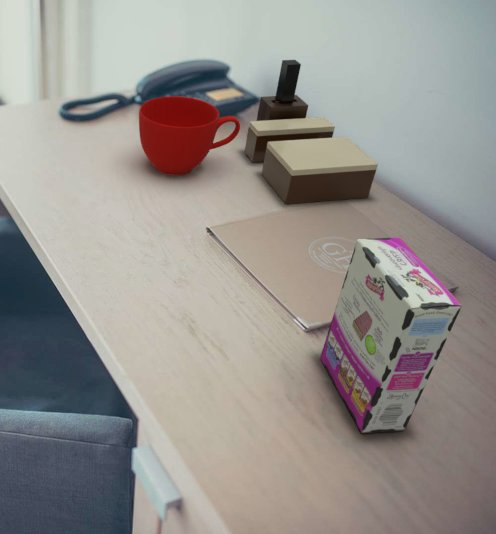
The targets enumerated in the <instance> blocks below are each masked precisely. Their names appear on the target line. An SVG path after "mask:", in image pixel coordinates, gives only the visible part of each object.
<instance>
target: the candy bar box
mask: <svg viewBox="0 0 496 534" xmlns="http://www.w3.org/2000/svg"><path fill="white" fill-rule="evenodd" d="M462 307H463V304H462V303H461V302H460V301H459V300H458V299H457V298H456V296H454V295H453V293H452V292H451V291H450V290H449V289H448V288H447V286H445V284H444V283H442V281H441V280H440V279H439V278H438V276H436V275H435V274H434V273H433V271H432V270H431V269H430V268H429V267H428V266H427V265H426V264H425V263H424V261H423V260H422V259H421V258H420V257H419V256H418V255H417V253H415V252H414V250H413V249H412V248H411V247H410V246H409V245H408V244H407V242H406V241H405V240H404V239H403V238H402V237H400V236H399V237H397V236H396V237H394V236H393V237H380V238H379V237H378V238H357V239H356V242H355V245H354V249H353V252H352V254H351V258H350V261H349V264H348V268H347V270H346V274H345V277H344V280H343V284H342V287H341V289H340V293H339V296H338V299H337V303H336V306H335V309H334V312H333V315H332V319H331V322H330V324H329V328H328V332H327V334H326V338H325V341H324V344H323V347H322V350H321V353H320V357H319V358H320V361H321V362H322V365H323V366H324V367H325V370H326V372H327V374H328V375H329V377H330V378H331V380H332V382H333V384H334V385H335V387H336V389H337V391H338V393H339V394H340V397H341V398H342V400H343V402H344V404H345V405H346V407H347V409H348V411H349V413H350V414H351V416H352V418H353V420H354V421H355V423H356V425H357V427H358V429H359V431H360V432H361V433H362V434H368V433H369V434H371V433H382V432H383V433H386V432H399V431H405V430H406V428H407V426H408V425H409V422H410V420H411V417H412V415H413V413H414V411H415V409H416V408H417V407H416V406H417V405H418V402H419V401H420V398H421V395H422V394H423V391H424V389H425V388H426V385H427V383H428V381H429V378H430V376H431V374H432V371H433V369H434V367H435V365H436V363H437V362H438V360H439V357H440V354H441V353H442V351H443V348H444V346H445V344H446V342H447V340H448V337H449V335H450V333H451V331H452V329H453V327H454V324H455V322H456V320H457V318H458V315H459V313H460V312H461V309H462Z"/></svg>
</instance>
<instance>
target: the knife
mask: <svg viewBox="0 0 496 534" xmlns="http://www.w3.org/2000/svg"><path fill="white" fill-rule="evenodd" d="M301 66H302V63H300V62H299V61H298V60H296V59H283V60H281V65H280V71H279V76H278V81H277V87H276V92H275V96H276V97H275V99H276V100H277V101H276V103H280V104H286V103H293V100H294V96H295V95H296V90H297V85H298V81H299V75H300V72H301Z"/></svg>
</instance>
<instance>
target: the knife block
mask: <svg viewBox="0 0 496 534" xmlns="http://www.w3.org/2000/svg"><path fill="white" fill-rule="evenodd" d="M275 97H276V95H271V96H270V95H269V96H268V95H267V96H260V98H259V103H258V111H257V116H256V121H265V120H283V119H300V118H307V113H308V110H309V104H308V103H306V102H305V101H304V100H303V99H302V98H301V97H299V95H297V94H295V96H294V100H293V103H286V104H280V103H276V101H277V100H276V99H275Z"/></svg>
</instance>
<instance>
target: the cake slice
mask: <svg viewBox="0 0 496 534" xmlns="http://www.w3.org/2000/svg"><path fill="white" fill-rule="evenodd" d="M335 129H336V126H335V125H334V124H333V123H332V122H331V121H330V120H329V119H328V118H326V117H325V116H321V117H306V118H300V119H283V120H265V121H257V120H250V121H249V123H248V128H247V135H246V139H245V140H246V141H245V147H244V153H245V155H246V156H247V158H248V159H249V160H250V161H251V162H252V163H261V162H263V163H264V159H265V153H266V148H267V143H268V142H271V141H287V140H303V139H319V138H333V137H334V132H335Z"/></svg>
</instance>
